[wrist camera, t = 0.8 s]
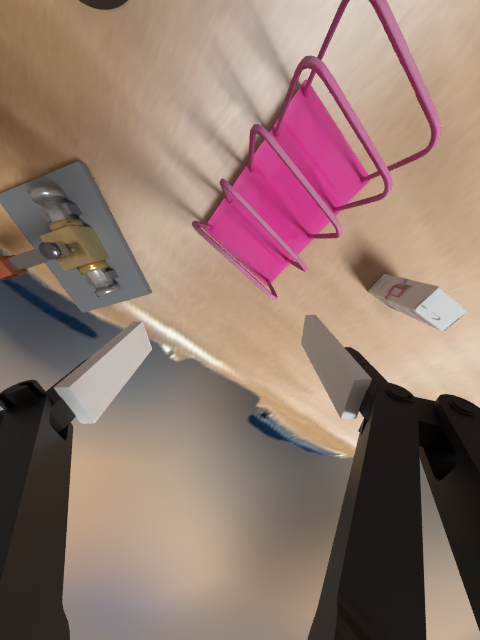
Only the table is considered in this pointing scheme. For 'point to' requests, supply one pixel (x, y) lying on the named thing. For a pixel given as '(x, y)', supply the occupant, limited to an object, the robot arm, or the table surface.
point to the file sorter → (305, 170)
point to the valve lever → (31, 258)
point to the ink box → (418, 301)
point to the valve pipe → (75, 239)
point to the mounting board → (96, 215)
